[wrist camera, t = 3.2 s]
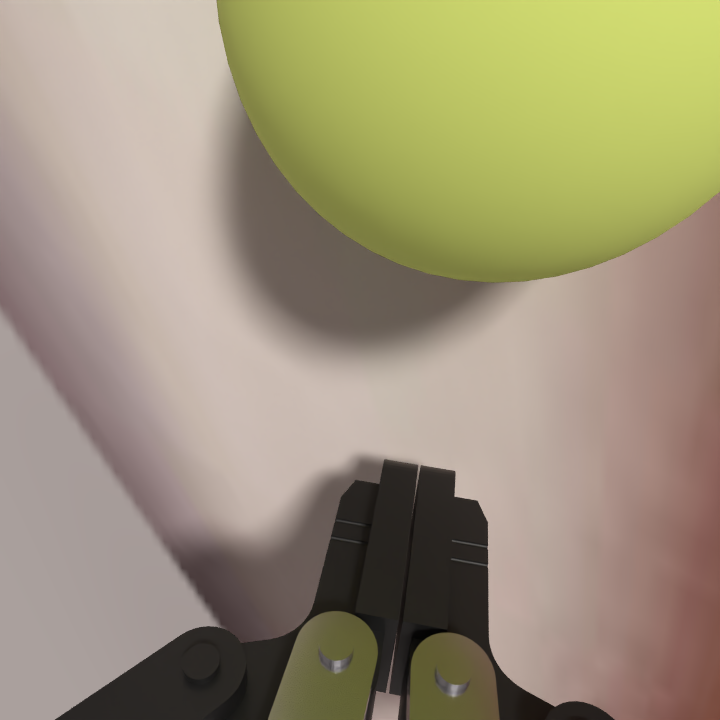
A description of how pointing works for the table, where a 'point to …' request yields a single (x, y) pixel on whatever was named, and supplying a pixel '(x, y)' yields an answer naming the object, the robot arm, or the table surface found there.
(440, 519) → the robot arm
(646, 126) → the ball
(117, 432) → the table surface
